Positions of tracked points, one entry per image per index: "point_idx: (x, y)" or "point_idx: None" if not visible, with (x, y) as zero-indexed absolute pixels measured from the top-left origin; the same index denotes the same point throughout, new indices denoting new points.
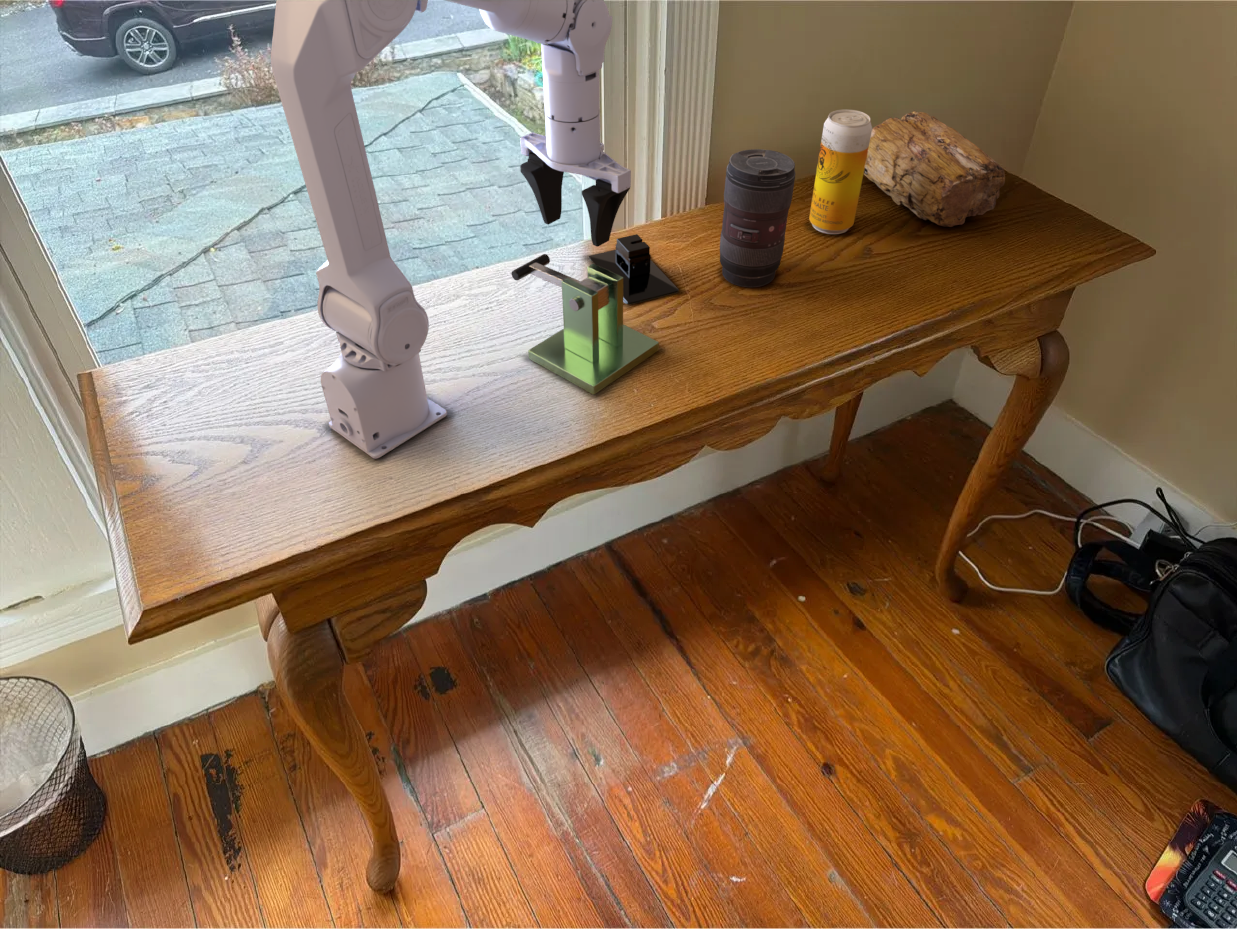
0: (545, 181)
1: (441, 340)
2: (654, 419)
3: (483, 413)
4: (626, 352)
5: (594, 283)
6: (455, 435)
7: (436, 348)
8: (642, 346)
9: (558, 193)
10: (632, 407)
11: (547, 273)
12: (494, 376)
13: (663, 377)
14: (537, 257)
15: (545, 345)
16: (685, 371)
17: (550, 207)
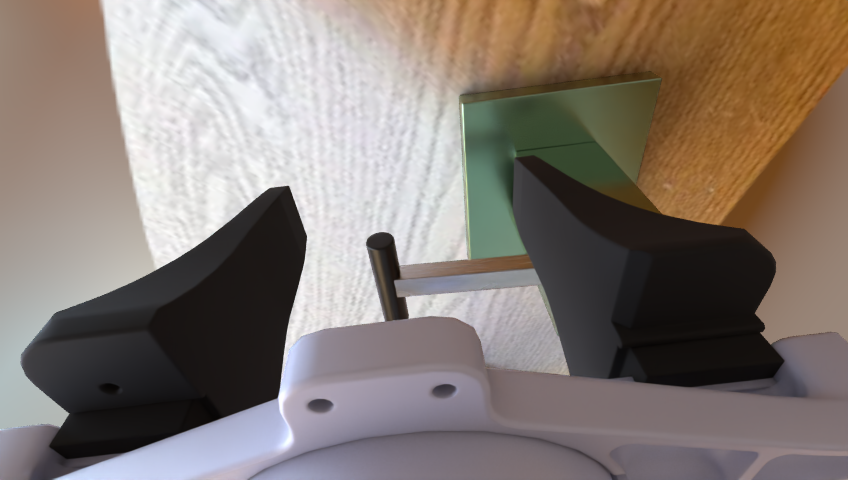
0: (264, 363)
1: (334, 312)
2: (729, 208)
3: (511, 339)
4: (619, 155)
5: None
6: (516, 369)
7: (348, 323)
8: (637, 117)
9: (258, 245)
10: (683, 214)
11: (459, 291)
12: (462, 302)
13: (698, 126)
14: (376, 268)
15: (482, 242)
16: (734, 79)
17: (289, 260)
